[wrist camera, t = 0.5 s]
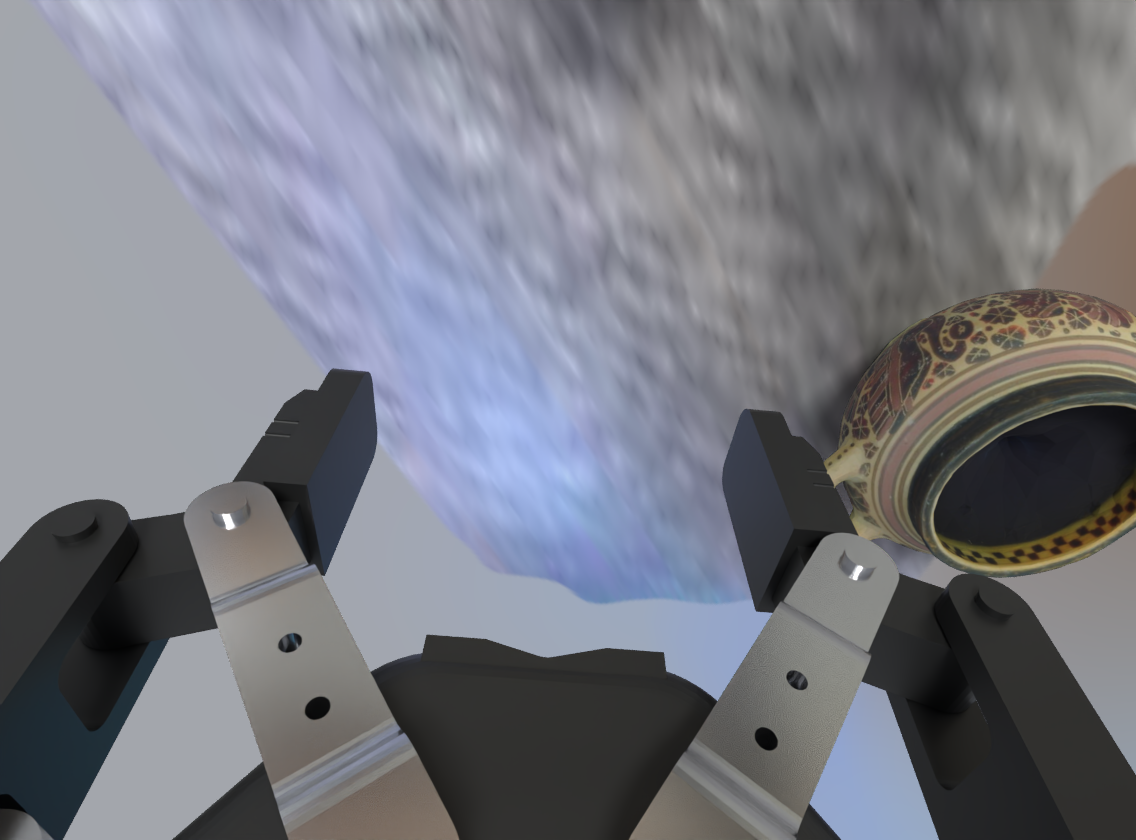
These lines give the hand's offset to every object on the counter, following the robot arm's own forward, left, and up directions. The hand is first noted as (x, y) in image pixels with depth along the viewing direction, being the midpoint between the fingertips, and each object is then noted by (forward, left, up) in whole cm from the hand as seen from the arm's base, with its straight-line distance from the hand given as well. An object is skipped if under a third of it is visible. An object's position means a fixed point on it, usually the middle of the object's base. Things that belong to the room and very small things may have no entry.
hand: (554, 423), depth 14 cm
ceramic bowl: (+4, +29, -27) cm, 40 cm away
